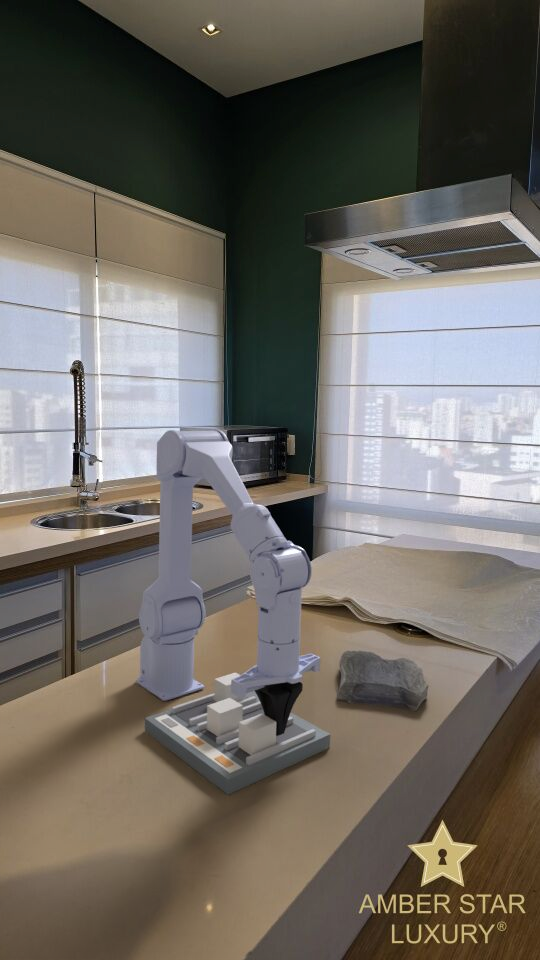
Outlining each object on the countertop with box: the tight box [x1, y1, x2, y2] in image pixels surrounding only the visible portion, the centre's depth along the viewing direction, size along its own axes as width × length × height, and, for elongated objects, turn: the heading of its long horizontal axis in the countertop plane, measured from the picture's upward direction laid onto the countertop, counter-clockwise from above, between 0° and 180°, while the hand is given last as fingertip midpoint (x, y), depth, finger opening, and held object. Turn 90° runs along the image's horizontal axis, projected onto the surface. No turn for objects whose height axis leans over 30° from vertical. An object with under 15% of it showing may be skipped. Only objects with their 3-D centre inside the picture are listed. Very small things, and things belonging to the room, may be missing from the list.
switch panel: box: [144, 691, 331, 796], centre depth 95 cm, size 20×18×3 cm
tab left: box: [213, 671, 247, 702], centre depth 102 cm, size 3×4×4 cm
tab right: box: [239, 714, 276, 755], centre depth 89 cm, size 3×4×4 cm
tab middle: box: [207, 698, 243, 736], centre depth 93 cm, size 3×4×4 cm
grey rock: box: [336, 649, 430, 712], centre depth 114 cm, size 15×16×4 cm
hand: (276, 731), depth 91 cm, fingers closed
